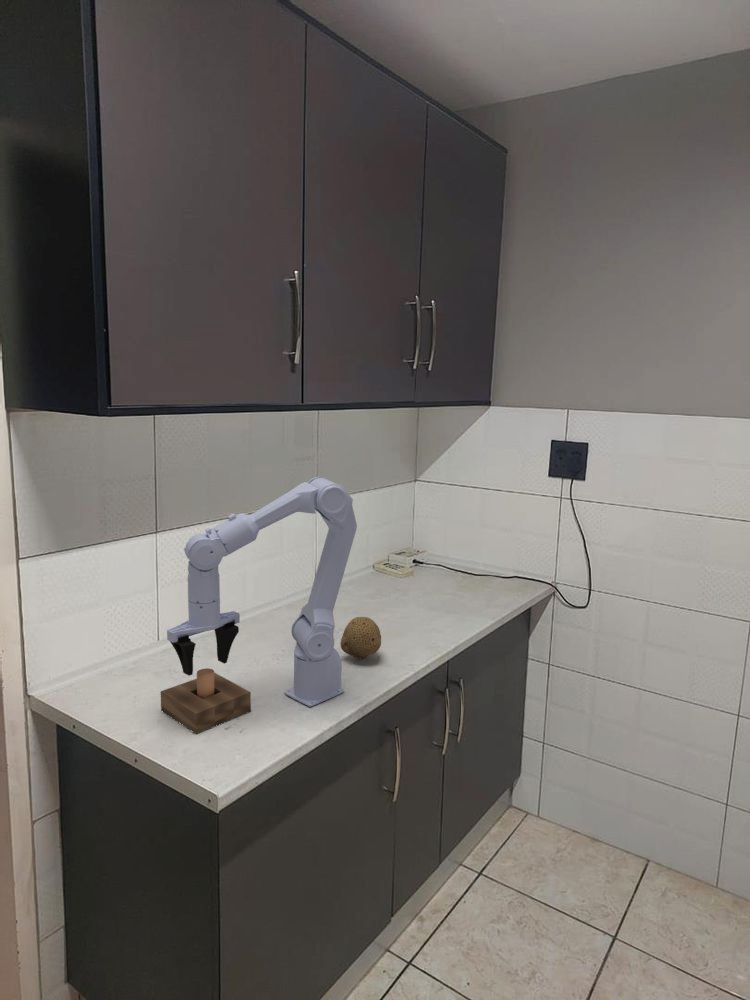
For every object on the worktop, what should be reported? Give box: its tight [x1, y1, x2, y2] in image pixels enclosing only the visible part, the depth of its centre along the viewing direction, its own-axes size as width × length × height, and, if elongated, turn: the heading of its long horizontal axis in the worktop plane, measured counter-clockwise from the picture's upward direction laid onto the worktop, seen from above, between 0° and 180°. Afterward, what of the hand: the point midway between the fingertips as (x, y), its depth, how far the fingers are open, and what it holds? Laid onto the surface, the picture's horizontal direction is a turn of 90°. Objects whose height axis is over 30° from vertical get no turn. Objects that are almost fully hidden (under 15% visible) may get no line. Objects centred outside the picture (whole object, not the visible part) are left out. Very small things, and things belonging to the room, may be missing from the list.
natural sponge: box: [340, 616, 382, 660], centre depth 156 cm, size 9×9×10 cm
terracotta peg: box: [196, 667, 215, 699], centre depth 130 cm, size 3×3×7 cm
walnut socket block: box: [160, 672, 252, 735], centre depth 130 cm, size 12×12×4 cm
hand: (205, 667), depth 129 cm, fingers open, 7 cm apart
